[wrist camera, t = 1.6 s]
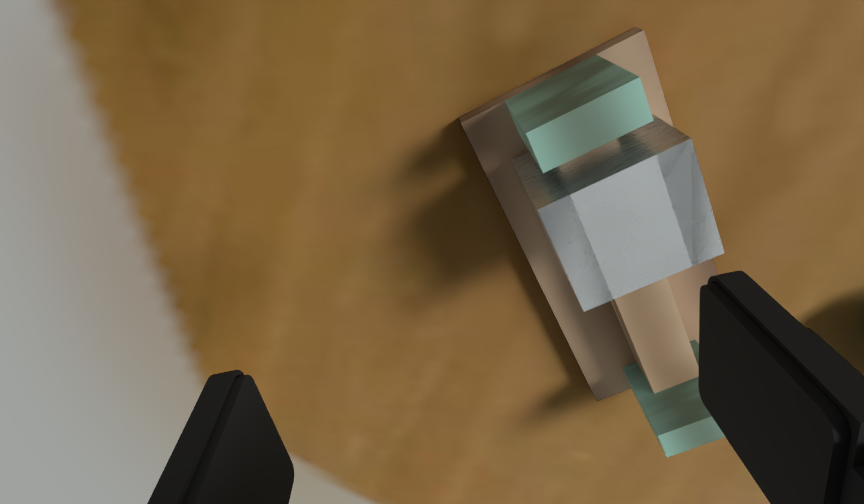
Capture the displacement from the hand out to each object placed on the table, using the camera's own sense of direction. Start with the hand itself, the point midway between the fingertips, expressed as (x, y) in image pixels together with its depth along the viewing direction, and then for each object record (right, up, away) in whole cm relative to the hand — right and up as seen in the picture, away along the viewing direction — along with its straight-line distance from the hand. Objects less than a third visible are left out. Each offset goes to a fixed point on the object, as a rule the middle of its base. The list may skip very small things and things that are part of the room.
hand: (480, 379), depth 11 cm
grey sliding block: (+8, +7, +19) cm, 22 cm away
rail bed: (+10, +3, +22) cm, 25 cm away
